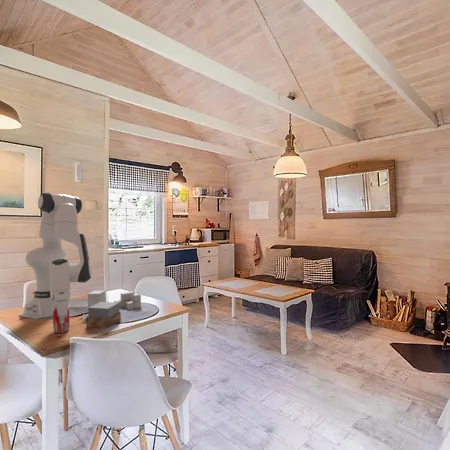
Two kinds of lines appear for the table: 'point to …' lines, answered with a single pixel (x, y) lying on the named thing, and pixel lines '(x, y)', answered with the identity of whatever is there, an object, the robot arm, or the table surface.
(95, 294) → the supplement box
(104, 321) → the tower bottom
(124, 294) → the puzzle cube
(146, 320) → the table surface
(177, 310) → the table surface
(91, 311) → the tower top
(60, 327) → the soda can
